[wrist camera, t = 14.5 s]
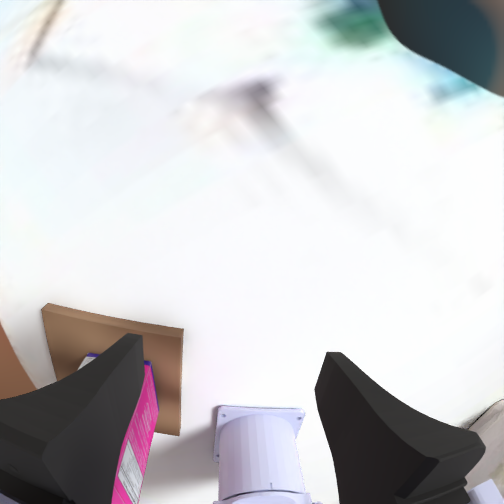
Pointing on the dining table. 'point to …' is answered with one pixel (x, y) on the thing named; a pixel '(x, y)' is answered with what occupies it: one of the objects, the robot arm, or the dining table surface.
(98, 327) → the cardboard square
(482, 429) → the ceramic pitcher
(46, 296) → the dining table surface
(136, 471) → the supplement box
